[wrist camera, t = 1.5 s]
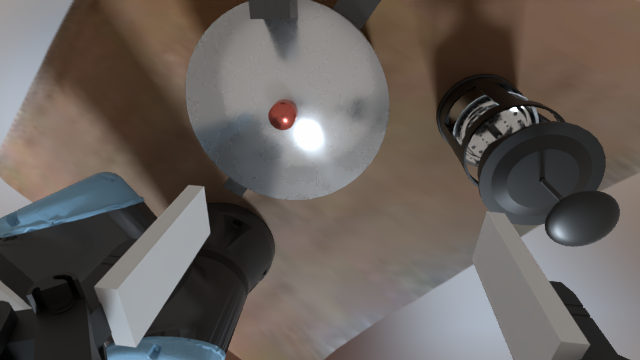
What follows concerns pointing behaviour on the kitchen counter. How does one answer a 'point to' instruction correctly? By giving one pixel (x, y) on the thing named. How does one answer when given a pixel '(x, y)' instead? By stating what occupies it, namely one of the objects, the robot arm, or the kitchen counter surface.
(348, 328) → the kitchen counter surface
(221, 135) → the lid
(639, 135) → the kitchen counter surface
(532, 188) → the french press
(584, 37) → the kitchen counter surface
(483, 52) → the kitchen counter surface
